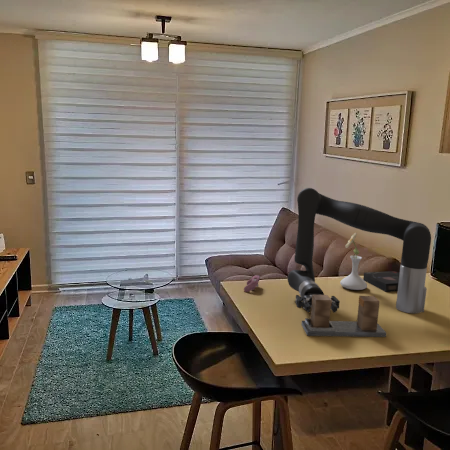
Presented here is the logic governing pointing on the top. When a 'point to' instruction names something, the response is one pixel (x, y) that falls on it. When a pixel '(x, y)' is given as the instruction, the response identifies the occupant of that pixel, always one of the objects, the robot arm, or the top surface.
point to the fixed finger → (368, 312)
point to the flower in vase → (354, 271)
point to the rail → (341, 329)
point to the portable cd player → (383, 280)
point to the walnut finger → (320, 311)
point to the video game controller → (252, 283)
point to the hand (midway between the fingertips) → (322, 309)
